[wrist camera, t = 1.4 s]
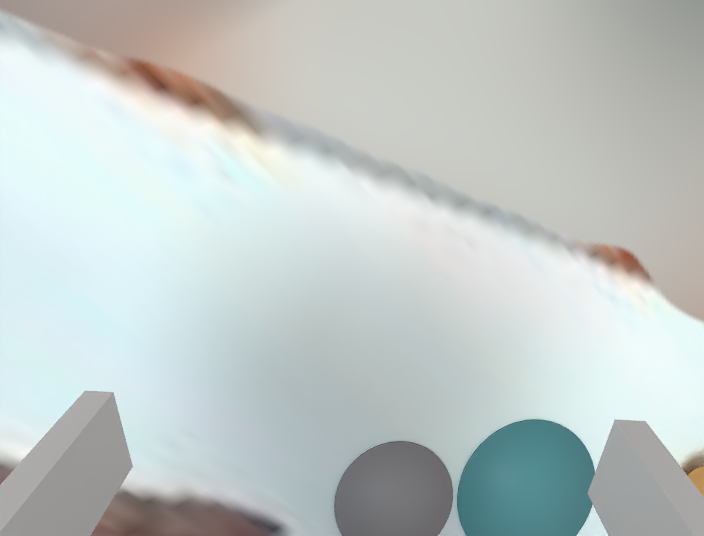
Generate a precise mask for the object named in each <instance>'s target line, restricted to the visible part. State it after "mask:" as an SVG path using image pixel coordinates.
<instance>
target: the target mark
mask: <svg viewBox="0 0 704 536" xmlns="http://www.w3.org/2000/svg"><path fill="white" fill-rule="evenodd" d="M594 475H595V470H594V466H593V462H592V459H591V457H590V454H589V452H588V450H587V449H586V447H585V446H584V444H583V443H582V442H581V440H580V439H579V438H578V437H577V436H576V435H575V434H573V433H572V432H571V431H569V430H568V429H566V428H565V427H563V426H561V425H559V424H556V423H553V422H550V421H544V420H526V421H521V422H517V423H513V424H511V425H508V426H506V427H504V428H502V429H500V430H498V431H497V432H495V433H494V434H492V435H491V436H489V437H488V438H487V439H486V440H485V441H484V442H483V443H482V444H481V445H480V446H479V447H478V448H477V449H476V451H475V452H474V453H473V455H472V456H471V458H470V459H469V461H468V463H467V465H466V467H465V469H464V471H463V474H462V476H461V480H460V484H459V489H458V496H457V506H458V514H459V518H460V522H461V525H462V527H463V530H464V532H465V534H466V535H467V536H576V535H577V534H578V532H579V531H580V529H581V528H582V526H583V525H584V523H585V521H586V519H587V517H588V515H589V513H590V510H591V508H592V502H591V500H590V498H589V496H588V494H587V493H588V491H589V488H590V485H591V483H592V480H593V477H594Z"/></svg>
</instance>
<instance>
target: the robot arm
mask: <svg viewBox="0 0 704 536" xmlns="http://www.w3.org/2000/svg"><path fill="white" fill-rule="evenodd" d="M131 468H132V462H131V458H130V455H129V451H128V447H127V443H126V439H125V435H124V432H123V428H122V424H121V420H120V416H119V412H118V409H117V405H116V401H115V397H114V393H113V392H98V391H84V393H83V394H82V395H81V396H80V397H79V398H78V399H77V400H76V401H75V403H74V404H73V405H72V406H71V407H70V408H69V409H68V410H67V411H66V413H65V414H64V415H63V416H62V417H61V418H60V419H59V420H58V421H57V423H56V424H55V425H54V426H53V427H52V428H51V429H50V430H49V431H48V433H47V434H46V435H45V436H44V437H43V438H42V439H41V440H40V441H39V443H38V444H37V445H36V446H35V447H34V448H33V449H32V450H31V451H30V452H29V454H28V455H27V456H26V457H25V458H24V459H23V460H22V461H21V462H20V464H19V465H18V466H17V467H16V468H15V469H14V470H13V471H12V472H11V474H10V475H9V476H8V477H7V478H6V479H5V480H4V481H3V482H2V484H1V485H0V536H90V535H91V534H92V532H93V530H94V529H95V527H96V525H97V524H98V522H99V521H100V519H101V517H102V516H103V514H104V512H105V511H106V509H107V507H108V506H109V504H110V503H111V501H112V499H113V498H114V496H115V494H116V493H117V491H118V489H119V488H120V486H121V485H122V483H123V481H124V480H125V478H126V476H127V475H128V473H129V471H130V470H131ZM587 494H588V496H589V498H590V500H591V502H592V504H593V506H594V508H595V510H596V512H597V514H598V515H599V517H600V519H601V521H602V523H603V525H604V527H605V529H606V531H607V533H608V535H609V536H704V497H703V495H702V494H701V493H700V491H699V490H698V489H697V487H696V486H695V485H694V484H693V482H692V481H691V480H690V478H689V477H688V476H687V475H686V473H685V472H684V471H683V469H682V468H681V467H680V465H679V464H678V463H677V462H676V460H675V459H674V458H673V456H672V455H671V454H670V452H669V451H668V450H667V449H666V447H665V446H664V445H663V443H662V442H661V441H660V440H659V438H658V437H657V436H656V434H655V433H654V432H653V430H652V429H651V428H650V427H649V425H648V424H647V423H646V421H631V420H615V421H614V424H613V426H612V429H611V432H610V434H609V437H608V440H607V442H606V445H605V448H604V450H603V453H602V456H601V458H600V461H599V464H598V467H597V469H596V472H595V475H594V477H593V480H592V483H591V485H590V488H589V491H588V493H587Z"/></svg>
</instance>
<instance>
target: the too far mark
mask: <svg viewBox="0 0 704 536" xmlns="http://www.w3.org/2000/svg"><path fill="white" fill-rule="evenodd" d="M452 501H453V488H452V482H451V478H450V475H449V473H448V471H447V469H446V467H445V466H444V464H443V463H442V461H441V460H440V459H439V458H438V457H437V456H436V455H435V454H434V453H433V452H431V451H430V450H428V449H427V448H425V447H423V446H421V445H418V444H414V443H410V442H390V443H385V444H382V445H379V446H376V447H374V448H372V449H370V450H368V451H366V452H365V453H364V454H362V455H361V456H359V457H358V458H357V459H356V460H355V461H354V462H353V463H352V464H351V465H350V466H349V468H348V469H347V470H346V472H345V473H344V475H343V477H342V479H341V480H340V483H339V485H338V488H337V492H336V496H335V517H336V522H337V525H338V528H339V530H340V532H341V534H342V536H437V535H438V534H439V533H440V531H441V530H442V529H443V527H444V525H445V523H446V522H447V519H448V517H449V514H450V511H451V507H452Z"/></svg>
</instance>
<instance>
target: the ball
mask: <svg viewBox="0 0 704 536" xmlns="http://www.w3.org/2000/svg"><path fill="white" fill-rule="evenodd" d="M688 477H689V478H690V480H691V481H692V482H693V484H694V485H695V486H696V487H697V489H698V490H699V491H700V493H701V494H702V495H703V497H704V466H702V467H699V468H696V469H695V470H693V471H692V472H690V473H689V474H688Z"/></svg>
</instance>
